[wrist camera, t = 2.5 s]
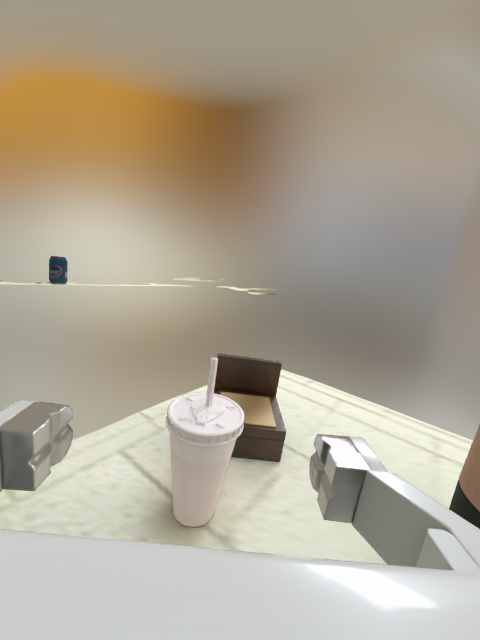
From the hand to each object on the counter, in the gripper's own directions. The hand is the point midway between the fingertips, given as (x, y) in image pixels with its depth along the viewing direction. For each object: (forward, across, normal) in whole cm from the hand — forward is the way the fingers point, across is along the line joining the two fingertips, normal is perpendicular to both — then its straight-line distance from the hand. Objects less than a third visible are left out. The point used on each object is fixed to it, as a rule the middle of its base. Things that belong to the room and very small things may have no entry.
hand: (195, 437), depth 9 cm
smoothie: (+12, 0, +16) cm, 20 cm away
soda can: (+120, +80, +15) cm, 145 cm away
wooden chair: (+24, -4, +16) cm, 29 cm away
